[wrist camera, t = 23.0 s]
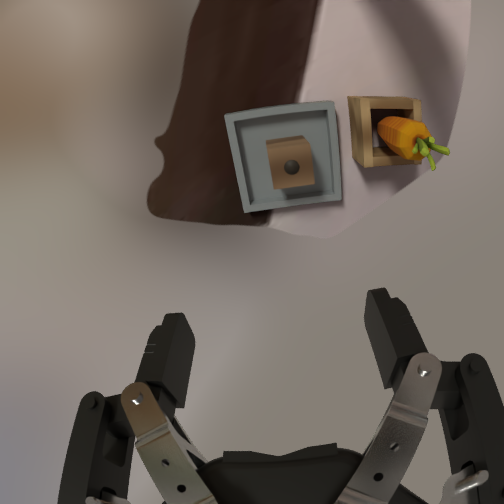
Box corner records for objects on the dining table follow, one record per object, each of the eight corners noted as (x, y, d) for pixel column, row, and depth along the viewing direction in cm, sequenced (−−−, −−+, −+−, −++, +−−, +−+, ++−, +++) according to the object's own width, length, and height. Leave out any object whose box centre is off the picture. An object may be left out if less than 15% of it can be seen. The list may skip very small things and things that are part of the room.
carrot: (399, 119, 33) (461, 143, 21) (386, 147, 36) (441, 183, 23) (372, 103, 32) (430, 118, 20) (358, 132, 35) (409, 161, 22)
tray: (225, 113, 34) (224, 115, 32) (329, 100, 33) (334, 101, 31) (244, 206, 42) (244, 212, 40) (337, 194, 40) (341, 199, 38)
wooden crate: (347, 96, 32) (359, 98, 28) (403, 96, 31) (420, 100, 27) (352, 157, 37) (364, 167, 33) (405, 154, 36) (421, 164, 32)
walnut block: (265, 140, 36) (267, 150, 30) (302, 135, 35) (310, 144, 30) (271, 174, 38) (273, 190, 33) (306, 169, 38) (314, 184, 33)
